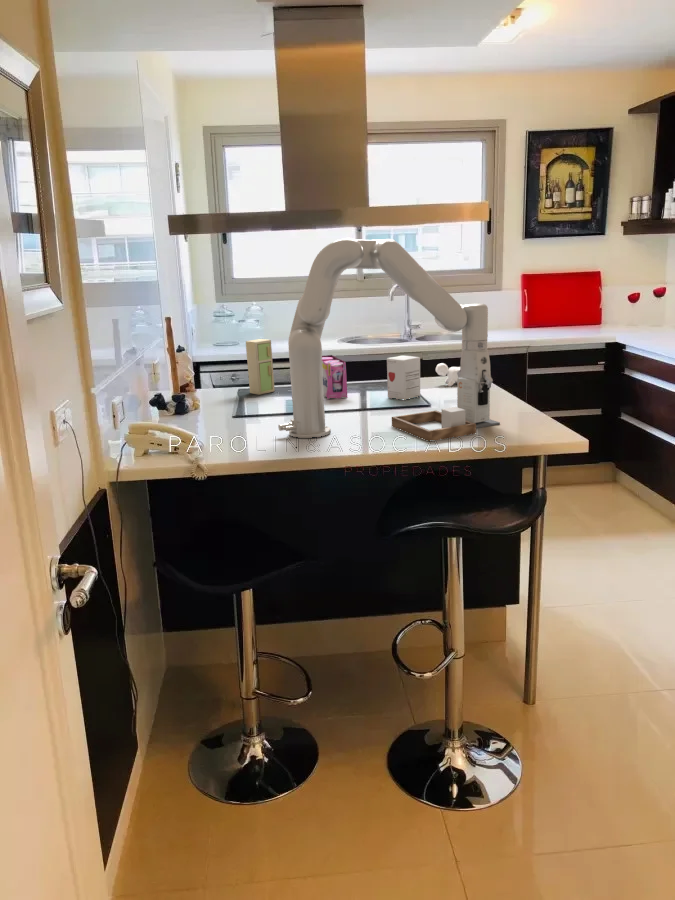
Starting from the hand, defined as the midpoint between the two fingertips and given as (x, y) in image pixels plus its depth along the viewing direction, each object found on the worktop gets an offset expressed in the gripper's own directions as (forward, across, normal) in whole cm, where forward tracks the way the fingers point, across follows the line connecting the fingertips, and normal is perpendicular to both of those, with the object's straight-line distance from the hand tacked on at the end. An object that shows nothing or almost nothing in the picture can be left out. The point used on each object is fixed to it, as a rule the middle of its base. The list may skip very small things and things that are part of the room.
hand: (474, 402), depth 214 cm
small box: (+6, 0, 0) cm, 6 cm away
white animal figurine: (+7, +59, -31) cm, 68 cm away
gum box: (+7, +72, +17) cm, 75 cm away
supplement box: (+7, +48, -2) cm, 48 cm away
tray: (+7, 0, +15) cm, 16 cm away
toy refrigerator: (+7, +91, +39) cm, 99 cm away
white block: (+7, -6, +11) cm, 15 cm away
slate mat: (+7, 0, 0) cm, 7 cm away
